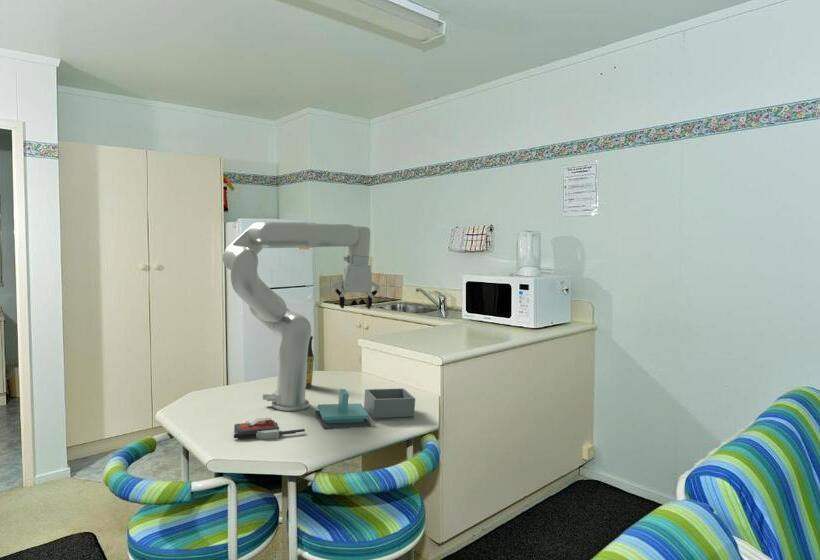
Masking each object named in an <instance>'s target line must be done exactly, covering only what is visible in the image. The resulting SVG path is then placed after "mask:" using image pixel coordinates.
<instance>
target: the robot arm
mask: <svg viewBox="0 0 820 560" xmlns="http://www.w3.org/2000/svg"><path fill="white" fill-rule="evenodd" d="M370 245H371V229H370V228H369V227H368V226H360V225H359V226H358V225H352V224H347V223H334V224H331V223H329V224H328V223H327V224H326V223H315V222H308V221H307V222H305V221H304V222H303V221H294V222H293V221H257V222H255V223H252V224H251V225H250V226H249V227H248V228H247V229H246V230H244V232H243V233H241V234H240V235H239V236H238V237H237V238H236V239H235V240H234V241H232V242H231V243H230V245H228V246H227V247H226V248H225V250H224V251H223V253H222V262H223V265H224V266H225V267H226V268H227V269H228V270H229V271H230V280H231V281H230V282H231V286H232V288H233V290H234V292H235V293H236V295H237V296H238V297H239V298H241V300H242V301H243V302H244V303H245V304H247V305H248V308H249V311H250V313H251V314H252V315H253V316H254V317H255V318H256V319H257V320H258V321H260V322H261V323H262V324H263V325H264V326H266V328H268V329H269V330H270V331H271V332H273V334H275V335H277V336H278V337H280V338H281V341H280V342H281V343H280V346H279V351H278V364H277V365H278V367H277V369H278V370H277V382H276V383H277V386H276V390H275V391H274V392H272V393H270V394H269V393H264V394H263V393H262V401H266V402H271V407H272V408H274V409H276V410H278V411H279V410H280V411H285V412H295V411H297V412H298V411H302V410H305V409H308V408H309V407H310V401H309V400H308V399H306V392H307V391H306V390H307V389H306V388H307V387H306V373H307V355H308V345H309V341H310V336H311V335H312V325H311V323H310V321H309V320H308V318H307V317H305V316H304V315H303V314H300V313H298V312H294V311H291V310H290V309H289V308H288V307H287V304H286V301H284V299H283V298H282V297H281V296H280V295H278V294H277V293H276V292H275V291H274V290H272V288H270V287H269V285H267V284H266V283H265V282H264V281H263V280H262V279H261V278H260V276H259V273H258V266H259V257H258V254H259V253H260V252H261V251H262V250H263V249H264V248H265V249H284V248H285V249H292V248H293V249H295V248H296V249H298V248H299V249H300V248H302V249H306V248H307V249H309V248H312V249H313V248H323V247H324V248H327V247H329V248H331V247H332V248H336V247H344V248H345V247H347V248H348V249H347V251H348V252H347V256H343V261H344V262H346V263H345V265H344V269H343V274H342V279H341V280H338V281H337V282H333V283H332V287H333V289H334V292H335V293H336V295H338V296H339V297H338V299H339V301H338V303H339V304H338V305H339V306H340V307H339V308H341V309H344V308H345V295H346V294H347V293H354V294H355V293H357V294H358V293H363V294H366V295H367V297H366V305H365V307H366V309H368V310H370V309H371V307H372V304H373V298H374V297H375V296H376V294H378V292H379V290H380V289H381V286H380V285H379V284H377V283H376V282H374V281H373V278H372V266H371V265H369V262H370V261H369V260H370ZM339 286H341V291H340V289H339ZM372 286H373V287H374V290H373V289H372V288H373V287H372Z"/></svg>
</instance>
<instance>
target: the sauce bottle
mask: <svg viewBox="0 0 820 560" xmlns="http://www.w3.org/2000/svg"><path fill="white" fill-rule="evenodd" d="M313 339H314V335H312V334H311V336H310V341H309V345H308V355H307V373H306V388H310V387H311V386H312V383H313V373H314V372H313V371H314V360H315V359H314V358H315V356H314V352H313V347H312V346H313Z"/></svg>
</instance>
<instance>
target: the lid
mask: <svg viewBox="0 0 820 560" xmlns="http://www.w3.org/2000/svg"><path fill="white" fill-rule="evenodd" d="M317 410H319V412H320V414H321V416H322V419H323V420H325V421H326V423H348V422H364V419H367V420H368V419H370V416H369V415H368V413H367V412H366V410H365V409H364V405H362V403H360V402H359V403H349V392H348V391H347V390H346V389H345V388H339V391H338V403H331V404H330V403H326V404H325V403H324V404H323V403H322V404H317Z"/></svg>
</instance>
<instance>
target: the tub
mask: <svg viewBox="0 0 820 560" xmlns="http://www.w3.org/2000/svg"><path fill="white" fill-rule="evenodd" d="M363 403H364V404H363V408H364V409H365V410H366V412H367V413H368V415H369V418H370V417H371V418H370V419H371V420H372V421H373V422H378V421H401V420H402V421H403V420H414V418H415V408H416V398H415V396H413V395H412V394H411V393H410V392H409V391H408V390H407V389H406V388H399V387H398V388H373V389H372V388H367V389H364V402H363Z"/></svg>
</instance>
